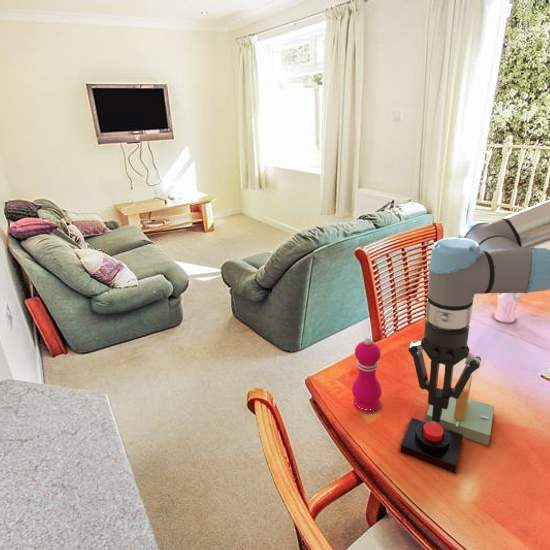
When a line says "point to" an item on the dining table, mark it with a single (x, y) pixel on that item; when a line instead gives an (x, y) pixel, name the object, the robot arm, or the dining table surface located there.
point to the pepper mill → (367, 376)
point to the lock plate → (468, 420)
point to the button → (433, 432)
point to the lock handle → (462, 401)
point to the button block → (432, 446)
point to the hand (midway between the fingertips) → (436, 416)
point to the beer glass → (507, 306)
